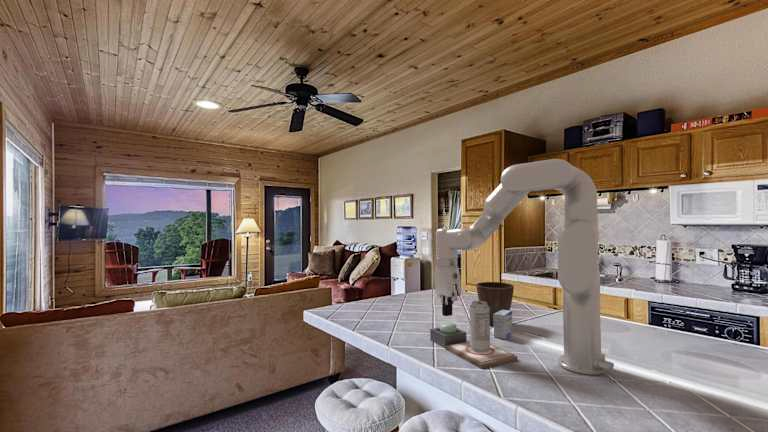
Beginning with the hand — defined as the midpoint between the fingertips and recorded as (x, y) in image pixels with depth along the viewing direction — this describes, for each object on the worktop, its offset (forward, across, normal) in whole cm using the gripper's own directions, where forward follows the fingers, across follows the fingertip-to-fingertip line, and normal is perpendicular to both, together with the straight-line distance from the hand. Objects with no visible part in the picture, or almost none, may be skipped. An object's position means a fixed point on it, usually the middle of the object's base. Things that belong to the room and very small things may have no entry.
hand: (447, 315), depth 129 cm
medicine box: (+10, -4, -22) cm, 24 cm away
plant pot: (+10, +9, -30) cm, 33 cm away
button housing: (+9, 0, 0) cm, 9 cm away
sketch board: (+9, -15, -2) cm, 18 cm away
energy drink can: (+8, -15, -2) cm, 17 cm away
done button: (+6, 0, 0) cm, 6 cm away
